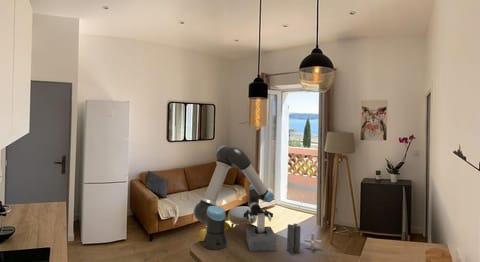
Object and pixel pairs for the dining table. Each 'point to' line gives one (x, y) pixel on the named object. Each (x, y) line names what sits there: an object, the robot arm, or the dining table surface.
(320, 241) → the pipe connector
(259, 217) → the square bit
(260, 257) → the dining table surface
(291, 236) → the cross bit
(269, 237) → the bore block
